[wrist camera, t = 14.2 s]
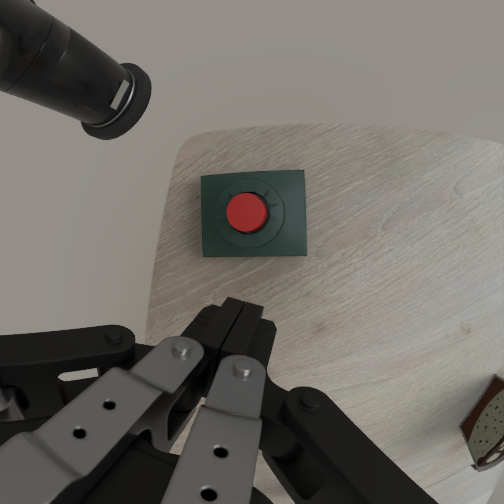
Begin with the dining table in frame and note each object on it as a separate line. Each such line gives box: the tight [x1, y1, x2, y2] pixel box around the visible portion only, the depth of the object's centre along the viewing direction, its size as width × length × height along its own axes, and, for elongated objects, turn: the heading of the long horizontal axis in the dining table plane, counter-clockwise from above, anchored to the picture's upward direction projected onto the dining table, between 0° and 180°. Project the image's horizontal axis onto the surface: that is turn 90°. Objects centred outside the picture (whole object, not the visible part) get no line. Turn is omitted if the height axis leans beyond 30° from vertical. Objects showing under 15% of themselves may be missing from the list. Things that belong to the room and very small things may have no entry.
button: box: [227, 193, 267, 232], centre depth 24 cm, size 3×3×2 cm
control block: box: [201, 170, 307, 257], centre depth 26 cm, size 10×8×4 cm
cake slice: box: [459, 374, 504, 472], centre depth 20 cm, size 12×6×10 cm, turn 156°
